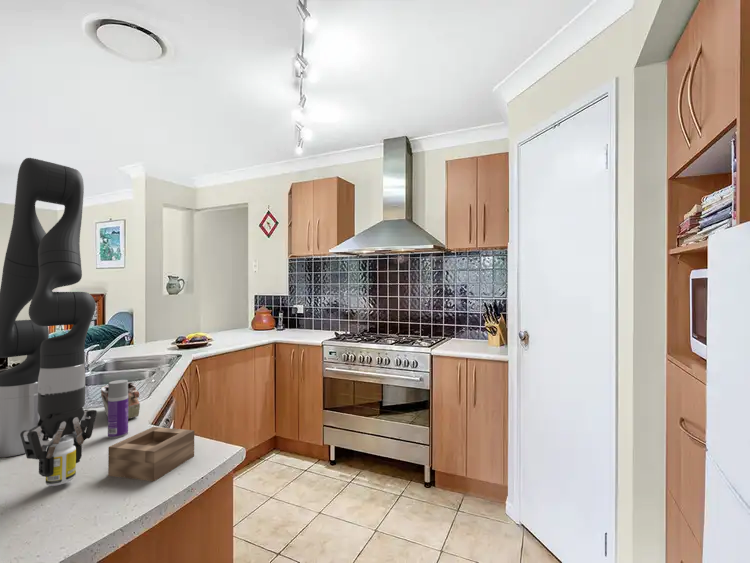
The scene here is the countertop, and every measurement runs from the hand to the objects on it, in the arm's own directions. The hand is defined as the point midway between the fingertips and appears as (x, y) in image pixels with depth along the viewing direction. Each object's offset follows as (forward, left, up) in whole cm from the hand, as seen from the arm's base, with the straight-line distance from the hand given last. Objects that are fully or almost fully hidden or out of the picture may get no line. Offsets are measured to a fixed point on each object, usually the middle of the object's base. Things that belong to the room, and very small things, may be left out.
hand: (60, 468), depth 75 cm
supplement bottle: (0, 0, -3) cm, 3 cm away
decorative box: (-27, +39, -4) cm, 48 cm away
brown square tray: (+12, +11, -4) cm, 17 cm away
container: (-12, +25, -4) cm, 28 cm away
